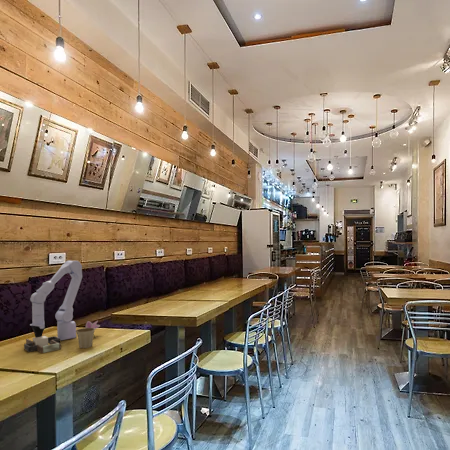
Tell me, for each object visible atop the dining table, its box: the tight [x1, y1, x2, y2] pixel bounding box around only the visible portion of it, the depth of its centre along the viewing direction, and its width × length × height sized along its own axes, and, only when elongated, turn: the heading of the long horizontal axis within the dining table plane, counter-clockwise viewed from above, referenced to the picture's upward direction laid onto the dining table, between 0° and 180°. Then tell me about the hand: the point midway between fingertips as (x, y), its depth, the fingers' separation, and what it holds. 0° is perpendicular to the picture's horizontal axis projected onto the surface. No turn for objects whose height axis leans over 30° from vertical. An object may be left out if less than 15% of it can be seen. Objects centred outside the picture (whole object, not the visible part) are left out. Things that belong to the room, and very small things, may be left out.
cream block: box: [32, 335, 49, 347], centre depth 202 cm, size 6×6×4 cm
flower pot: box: [76, 327, 96, 349], centre depth 196 cm, size 9×9×9 cm
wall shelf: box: [23, 335, 62, 354], centre depth 200 cm, size 17×27×3 cm, turn 42°
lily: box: [85, 320, 101, 338], centre depth 216 cm, size 12×12×10 cm
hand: (38, 340), depth 205 cm, fingers closed
